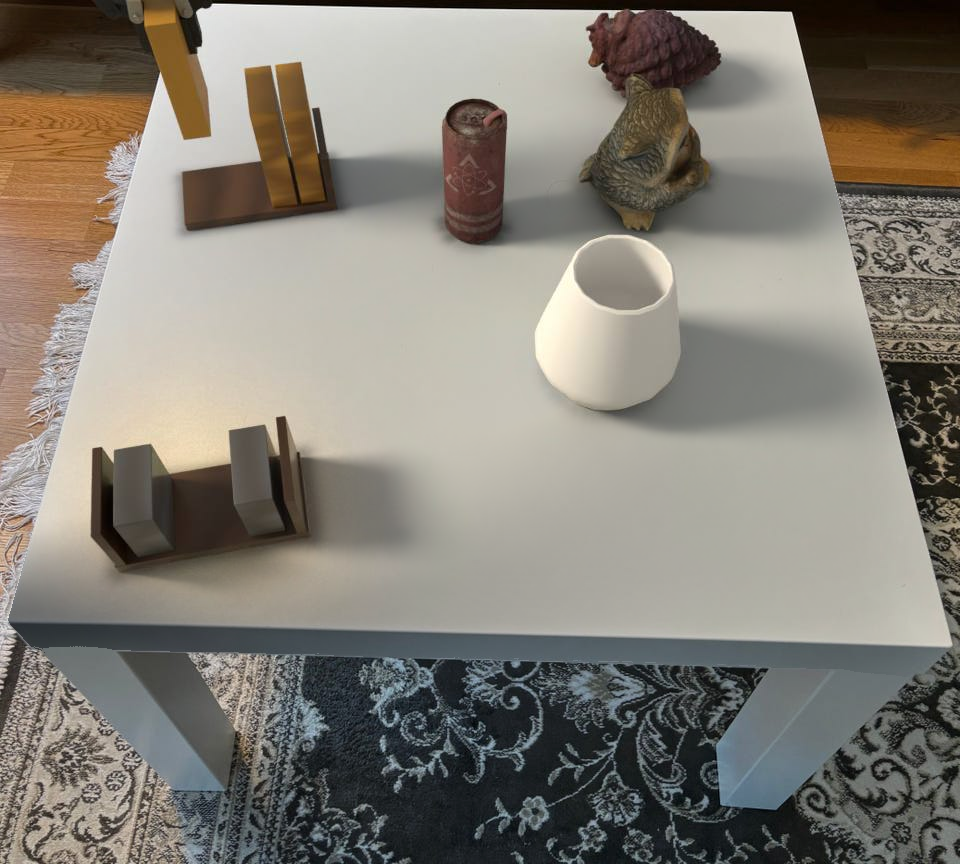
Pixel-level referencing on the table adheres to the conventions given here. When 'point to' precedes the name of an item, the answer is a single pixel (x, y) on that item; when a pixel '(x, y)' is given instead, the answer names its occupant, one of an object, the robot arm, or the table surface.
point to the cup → (612, 325)
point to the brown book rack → (198, 501)
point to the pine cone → (651, 49)
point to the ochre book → (178, 68)
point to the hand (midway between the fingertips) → (175, 50)
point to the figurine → (647, 155)
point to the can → (474, 169)
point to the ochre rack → (267, 160)
